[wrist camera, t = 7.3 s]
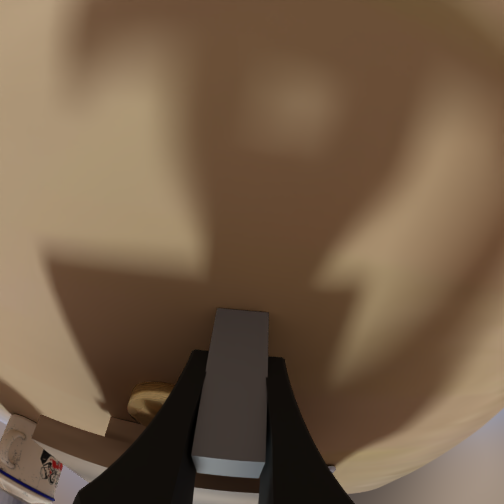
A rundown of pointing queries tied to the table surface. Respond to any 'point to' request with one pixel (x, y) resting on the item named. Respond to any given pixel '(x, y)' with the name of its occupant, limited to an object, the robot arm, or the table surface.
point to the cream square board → (115, 444)
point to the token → (148, 400)
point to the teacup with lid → (27, 463)
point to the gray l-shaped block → (234, 397)
